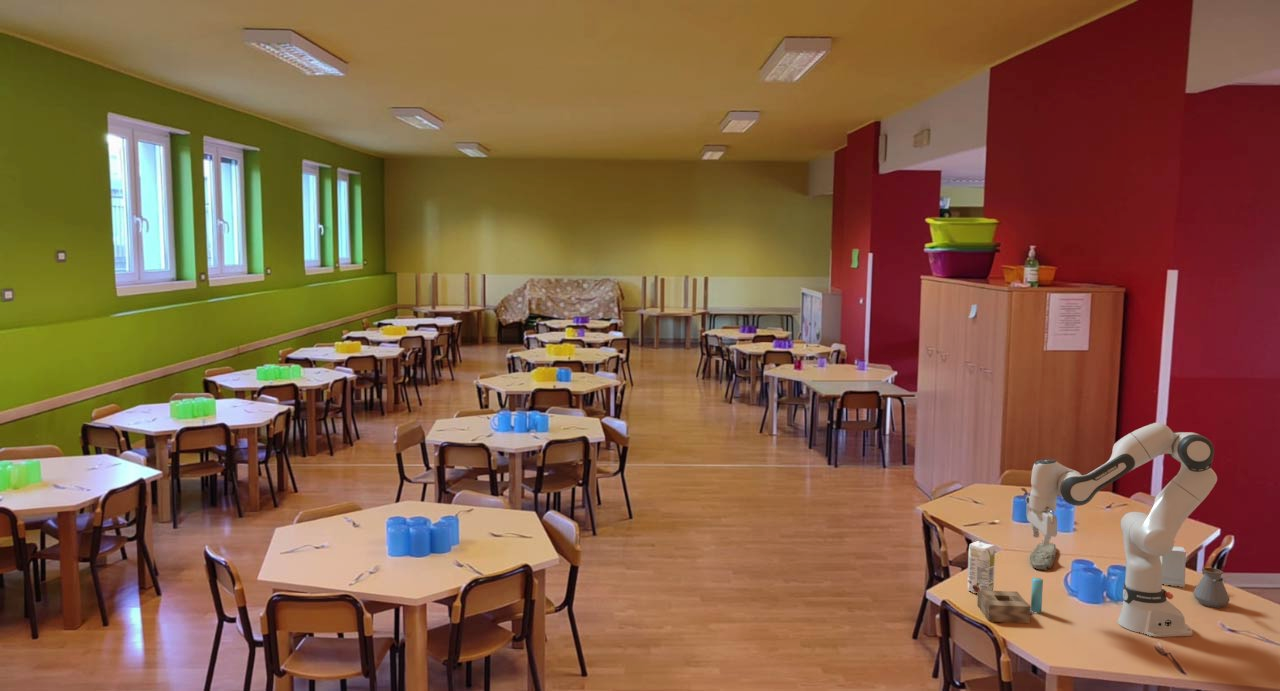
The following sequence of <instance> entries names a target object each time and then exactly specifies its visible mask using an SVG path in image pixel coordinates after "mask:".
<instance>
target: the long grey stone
mask: <svg viewBox="0 0 1280 691" xmlns="http://www.w3.org/2000/svg"><path fill="white" fill-rule="evenodd" d="M1057 549H1058V548H1057V546H1056V544H1054V543H1053V542H1049V546H1044V545H1043V544H1042V542H1040V543H1038V544H1037V545H1036V547H1035V548H1034V549H1033V551H1032V552H1031V553H1030V556H1029V559H1030V560H1029V561H1030V565H1031V567H1034V568H1033V569H1035V568H1036V569H1035V570H1045V569H1046V570H1048V569H1051V567H1053V564H1054V562H1055V559H1056V558H1057V557H1056V555H1057ZM1046 570H1045V571H1046Z"/></svg>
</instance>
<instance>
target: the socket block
mask: <svg viewBox="0 0 1280 691" xmlns="http://www.w3.org/2000/svg"><path fill="white" fill-rule="evenodd" d="M976 604H977V605H976V606H977V607H978V609H979V608H980V609H979V610H980V612H982V614H983V615H985V616H984V617H985V618H986V620H987V621H988V622H994V621H995V622H996V623H997V622H1000V623H1019V622H1026V623H1025V624H1029V623H1028V622H1030V620H1031V605H1030V604H1029V603H1028V602H1027V601H1026V600H1025V599H1024V598H1023V596H1022V595H1021V594H1020V593H1019V592H1018V591H1013V590H1012V591H1011V590H1007V591H1006V590H993V591H986V590H978V594H977V603H976ZM995 622H994V623H995Z"/></svg>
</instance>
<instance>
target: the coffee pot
mask: <svg viewBox="0 0 1280 691" xmlns="http://www.w3.org/2000/svg"><path fill="white" fill-rule="evenodd" d="M1201 571H1202V573H1203V576H1202V577H1201V579H1200V580H1199V582H1198V583H1197V585H1196V587H1195V588H1194V590H1193V591H1192V596H1193V598H1194V599H1195V600H1196V601H1198V603H1199V604H1201V605H1202V606H1206V607H1209V608H1216V609H1217V608H1223V607H1224V606H1227V604H1229V602H1230V600H1231V599H1230V596H1229V594H1228V591H1227V589H1226V587H1225V583H1224V582H1223V581H1225V578H1222V575H1223V574H1224V572H1223V570H1221V569H1218V568H1216V567H1202V568H1201Z"/></svg>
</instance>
